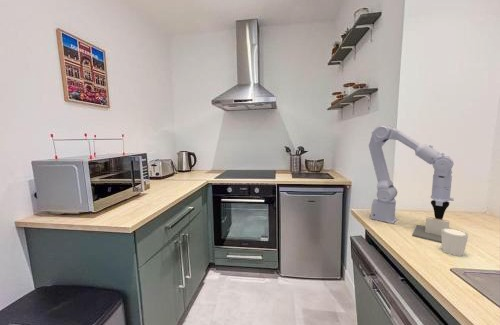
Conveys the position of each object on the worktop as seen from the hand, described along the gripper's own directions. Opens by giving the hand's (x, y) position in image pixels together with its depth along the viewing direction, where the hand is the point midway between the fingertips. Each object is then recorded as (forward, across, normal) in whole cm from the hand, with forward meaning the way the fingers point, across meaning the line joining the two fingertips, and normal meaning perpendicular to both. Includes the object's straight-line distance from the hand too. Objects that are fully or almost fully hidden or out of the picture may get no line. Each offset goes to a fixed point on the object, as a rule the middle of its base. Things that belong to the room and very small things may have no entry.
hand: (438, 218), depth 92 cm
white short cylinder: (+6, -17, -5) cm, 19 cm away
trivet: (+5, -6, +1) cm, 8 cm away
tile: (+5, -5, 0) cm, 7 cm away
